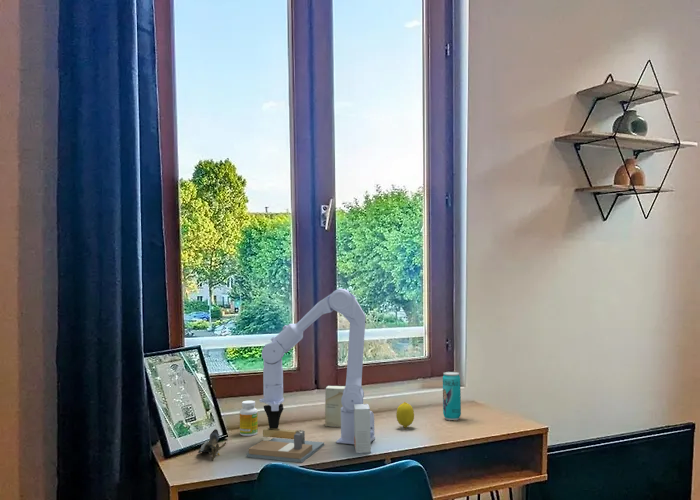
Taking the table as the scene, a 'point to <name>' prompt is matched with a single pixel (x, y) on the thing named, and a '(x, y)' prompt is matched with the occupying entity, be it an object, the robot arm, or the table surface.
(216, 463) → the table surface
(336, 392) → the skincare box
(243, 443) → the table surface
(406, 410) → the lemon
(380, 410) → the table surface
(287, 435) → the swing bar
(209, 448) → the eagle figurine
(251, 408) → the supplement bottle
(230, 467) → the table surface
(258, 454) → the latch board
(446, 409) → the beverage can
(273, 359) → the robot arm
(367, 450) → the skincare box
